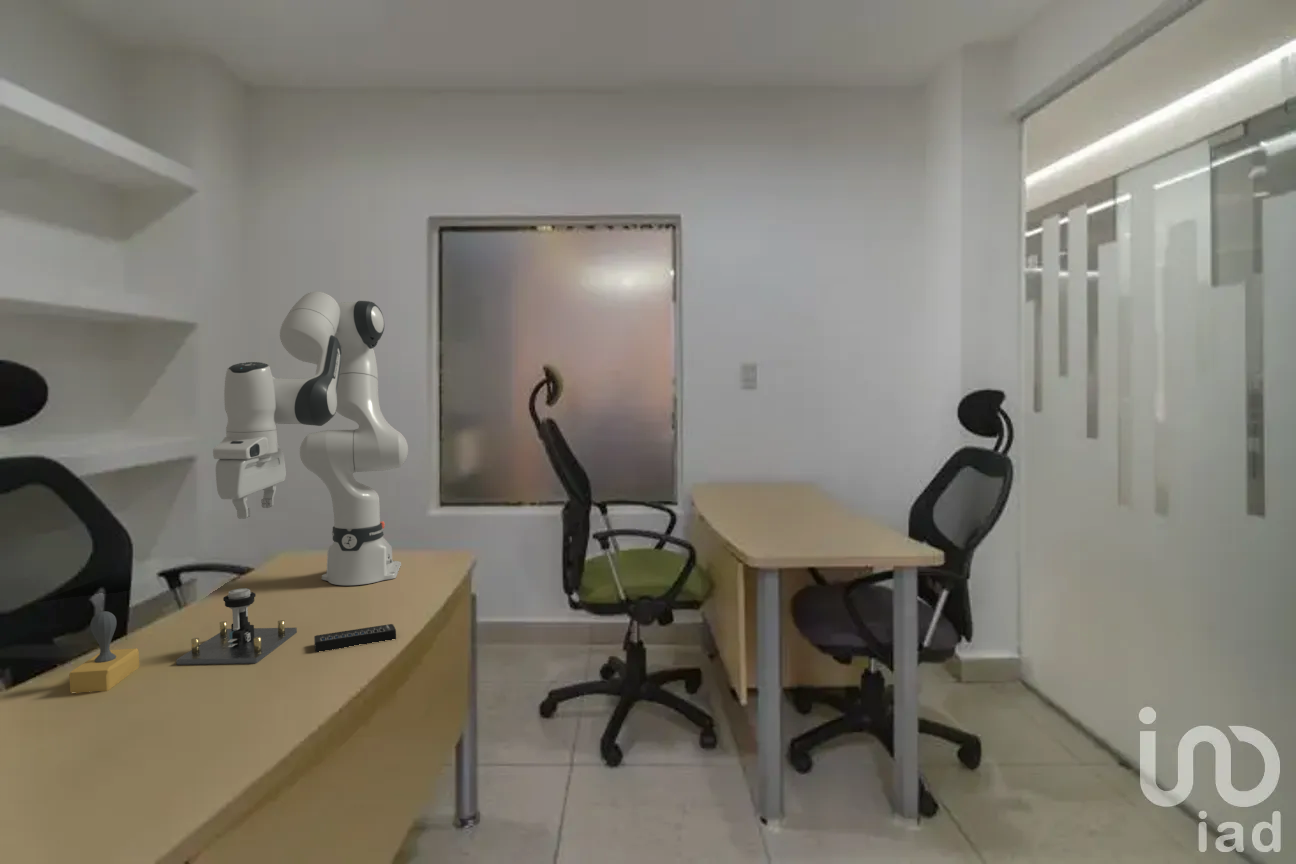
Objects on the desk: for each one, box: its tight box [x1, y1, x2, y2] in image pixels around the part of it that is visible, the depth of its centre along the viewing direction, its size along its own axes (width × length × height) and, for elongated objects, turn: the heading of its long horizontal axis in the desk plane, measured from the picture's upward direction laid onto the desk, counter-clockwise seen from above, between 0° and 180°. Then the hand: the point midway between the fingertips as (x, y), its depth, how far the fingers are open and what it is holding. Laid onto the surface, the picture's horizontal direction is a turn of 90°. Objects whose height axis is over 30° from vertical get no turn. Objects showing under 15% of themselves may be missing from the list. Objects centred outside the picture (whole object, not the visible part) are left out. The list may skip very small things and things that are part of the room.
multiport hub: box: [313, 623, 397, 653], centre depth 136 cm, size 4×14×2 cm, turn 118°
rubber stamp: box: [68, 610, 140, 694], centre depth 118 cm, size 10×6×12 cm, turn 11°
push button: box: [222, 587, 256, 647], centre depth 133 cm, size 7×5×10 cm
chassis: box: [175, 619, 298, 666], centre depth 133 cm, size 16×14×4 cm
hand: (256, 512), depth 140 cm, fingers open, 8 cm apart
